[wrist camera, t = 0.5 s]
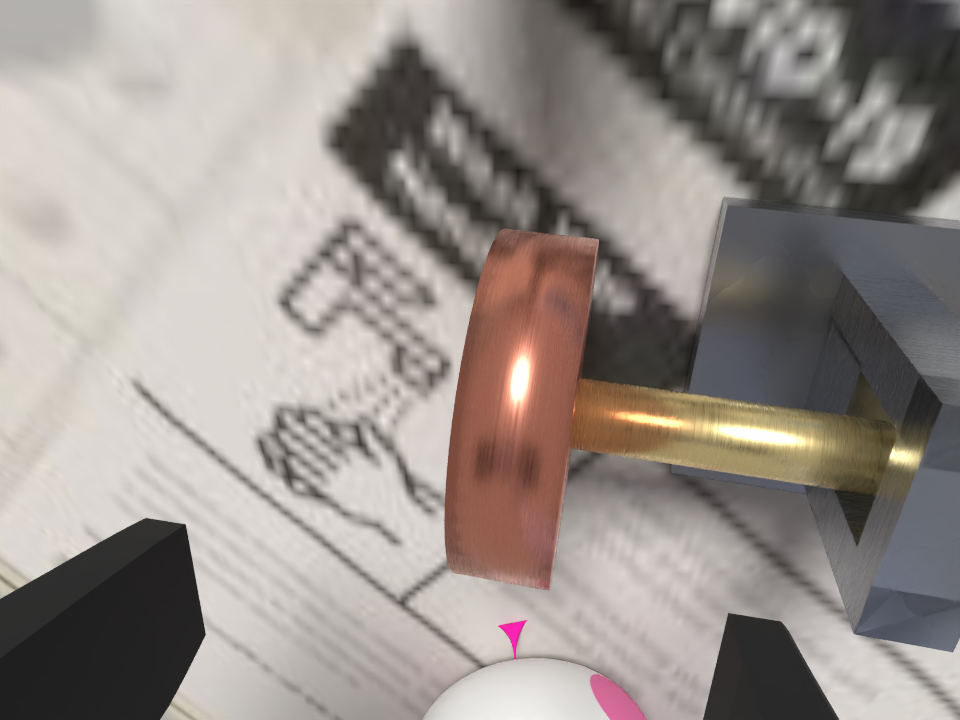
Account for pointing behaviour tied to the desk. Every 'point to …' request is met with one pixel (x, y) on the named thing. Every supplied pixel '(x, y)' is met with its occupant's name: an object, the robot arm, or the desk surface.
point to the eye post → (852, 387)
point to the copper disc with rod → (596, 417)
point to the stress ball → (534, 692)
